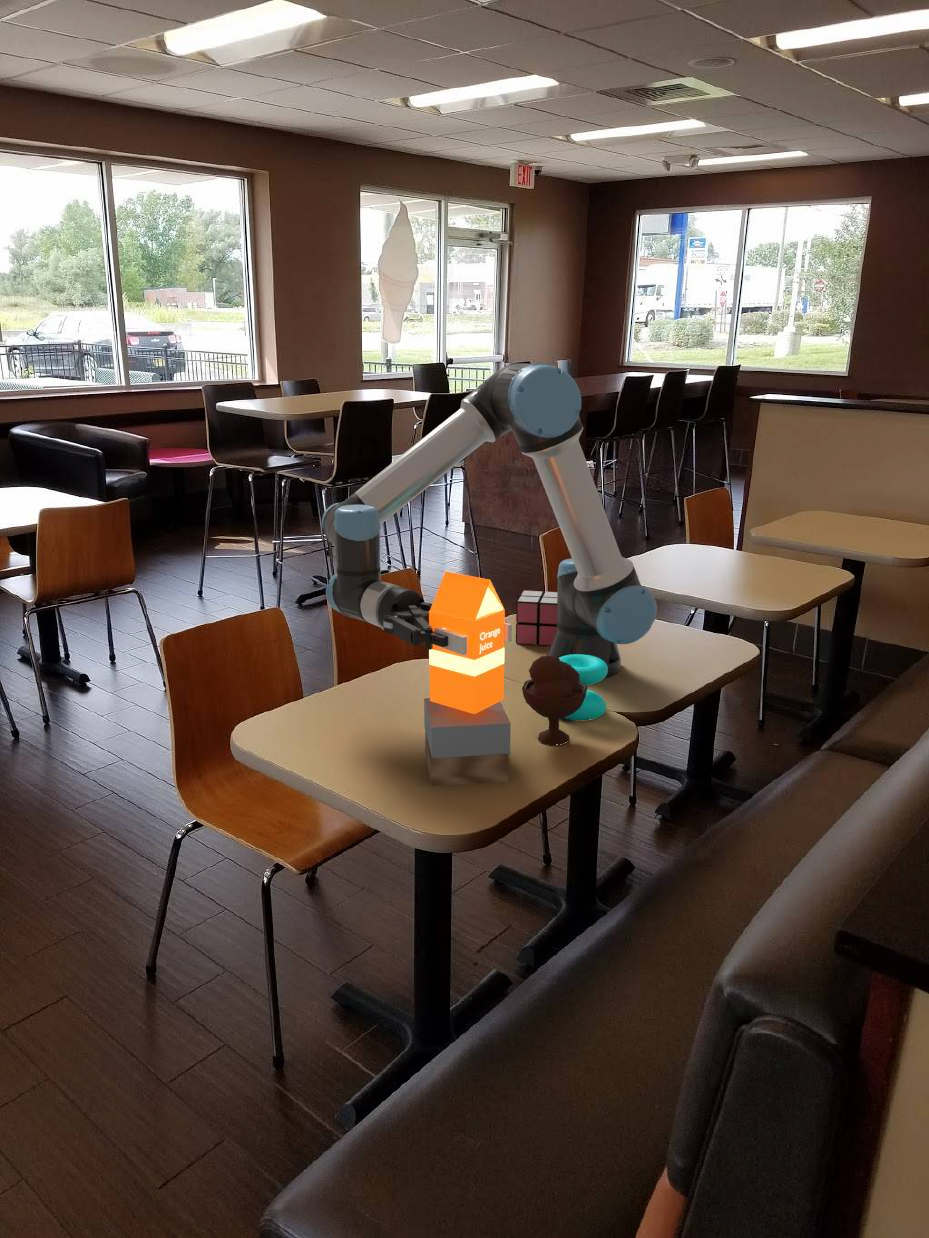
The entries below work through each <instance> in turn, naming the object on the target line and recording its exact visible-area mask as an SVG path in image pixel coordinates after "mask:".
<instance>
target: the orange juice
mask: <svg viewBox="0 0 929 1238" xmlns="http://www.w3.org/2000/svg"><path fill="white" fill-rule="evenodd" d="M431 604H432V607H431V609H430V611H429V626H431V627H432V628H433V631H434V628H436V627H440V628H443V629H446V630H449V631H452V632H455V633H458V634H461V635H464V636H467V654H466V655H461V654H458V653H455V652H453V651H450V650H447V649H444V648H441V647H439V646H436V645H434V644H433V649H431V650H428V659H429V660H428V662H429V663H428V664H429V698H430V701H432V702H435V703H439V704H442V705H445V706H449V707H452V708H455V709H459V710H462V711H465V712H469V713H472V714H476V713H478V712H480V711H482V710H484V709H486V708H488V707H490V706H492V705H494V704H496V703H498V702H502V701H504V698H505V697H504V696H505V695H504V693H505V692H504V691H505V689H504V686H505V685H504V684H505V655H506V654H505V650H506V648H505V641H503V636H504V624H505V621H506V619H505V617H506V616H505V615H506V614H505V613H506V612H505V611H506V610H505V608H504V605H503V603H502V602H501V600H500V597H499V594H498V593H497V592H496V588H495V587H494V585H493V583H492V581H491V579H487V578H483V577H478V576H472V575H467V574H460V573H456V572H450V571H444V574H443V576H442V579H441V581H440V585H439V586H438V589H437V592H436V595H435V597H434V600H433V602H432V603H431Z"/></svg>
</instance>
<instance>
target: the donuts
mask: <svg viewBox="0 0 929 1238" xmlns="http://www.w3.org/2000/svg"><path fill="white" fill-rule="evenodd" d="M559 659H560V661H563V662H566V663H568V664H569V665H571V666H572V667H573V668H574V669H575V670H576V671H577V672H578V673H579V676H580V681H581V682H582V683H584V684H585V685H587V686H591V685H594V684H597V683H600V682H601V681H603V680H604V679H605V678H607V677H606V675H607V673H608V667H607V665H606V663H605V662H604V661H603V660H601V659H600V658H597V657H594V656H590V655H583V654H572V655H566V656H562V657H560V658H559ZM606 711H607V703H606V700H605V699H604V697H602V695H600V694H599V693H597V692H595V691H593V690H590V689H587V692H586V696H585V699H584V702H583V704H582V705H581V707H580V708H579V709H578V710H577V711H576V712H575V713H573V714H571V715H569V716H567V717H564V718H566V719H565V720H568V719H571V720H570V721H573V720H588V721H590V720H589V719H593V720H595V719H594V718H596V719H598V717H599V718H600V717H602V716H603V715H604V714H605V712H606ZM564 718H563V719H564Z"/></svg>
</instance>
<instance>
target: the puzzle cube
mask: <svg viewBox="0 0 929 1238" xmlns="http://www.w3.org/2000/svg"><path fill="white" fill-rule="evenodd" d="M515 608H516V609H515V611H516V613H515V614H516V615H515V617H516V618H515V622H516V623H515V644H516V645H525V646H527V645H528V646H529V645H530V646H542V647H544V646H545V647H551V644H552V641H553V639H554V636H555V633H556V630H557V591H556V592H555V591H539V590H538V591H537V590H523V591H522V592H521V594H520V595H519V598H518V599H517V601H516V606H515Z"/></svg>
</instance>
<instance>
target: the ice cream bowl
mask: <svg viewBox="0 0 929 1238" xmlns="http://www.w3.org/2000/svg"><path fill="white" fill-rule="evenodd" d="M529 667H530V668H529V669H528V672H529V678H530V679H528V680H525V682H524V684H523V685H522V687H521V690H522V695H523V698H524V701H525V702H526V704H527V705H528V706H529V707H530V708H531V709H532V710H534V712H536V713H537V714H538V715H539V716H542V717H543V718H547V719H548V729H545V730H543V731H541V732H539V734H538V737H537V739H538V740H539V741H538V740H537V741H538V742H540V741H541V742H542V743H545V744H544V745H546V744H549V745H548V746H550V745H556V744H558V745H559V746H561V745H560V744H563V743H565V742H567V741H569V742H570V739H569V738H570V735H569V734H568V733H566V731H563V730H561V729H560V720H561V719H564V717H567V716H569V715H571V714H573V713H575V712H576V711H577V710H578V709H579V708H580V707H581V705H582V704H583V702H584V699H585V696H586V692H587V690H588V687H589V685H585V684H584V683H582V682H581V681H580V676H579V673H578V672H577V671H576V670H575V669H574V668H573V667H572V666H571V665H569V664H568V663H566V662H563V661H560V659H559V658H557V657H555V656H549V655H548V654H547V655H542V656H539V657H538V658H537V659H535V660H533V661H532V664H531V666H529ZM541 742H540V743H541ZM542 743H541V744H542Z"/></svg>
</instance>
